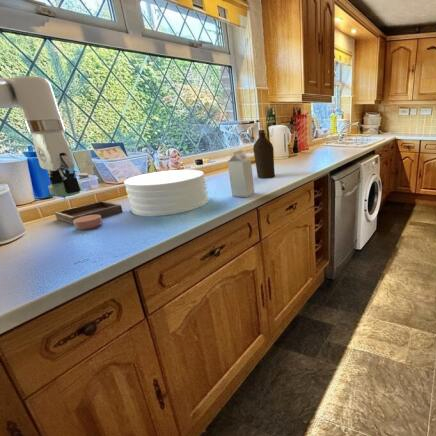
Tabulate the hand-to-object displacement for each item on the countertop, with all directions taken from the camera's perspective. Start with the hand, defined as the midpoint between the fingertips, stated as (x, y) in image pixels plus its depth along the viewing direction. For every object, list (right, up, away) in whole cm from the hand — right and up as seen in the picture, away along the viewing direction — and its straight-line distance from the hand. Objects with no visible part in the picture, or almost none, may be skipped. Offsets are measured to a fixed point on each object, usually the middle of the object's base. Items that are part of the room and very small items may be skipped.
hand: (67, 190), depth 87 cm
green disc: (0, -1, 0) cm, 1 cm away
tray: (-12, -7, +24) cm, 28 cm away
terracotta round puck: (-4, -11, +13) cm, 18 cm away
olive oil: (+41, +15, +81) cm, 92 cm away
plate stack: (+12, -3, +35) cm, 37 cm away
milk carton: (+39, +2, +45) cm, 60 cm away
